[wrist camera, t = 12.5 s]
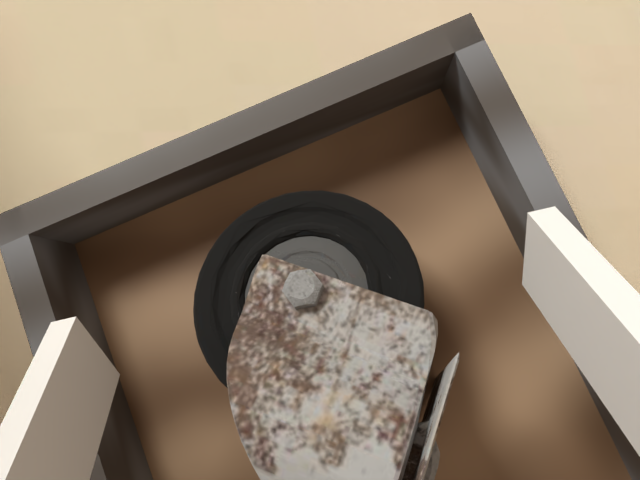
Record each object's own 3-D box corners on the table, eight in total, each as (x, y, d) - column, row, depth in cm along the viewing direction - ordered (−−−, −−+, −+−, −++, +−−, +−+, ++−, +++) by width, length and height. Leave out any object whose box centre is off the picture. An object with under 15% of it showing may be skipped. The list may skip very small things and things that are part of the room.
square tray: (58, 234, 22) (-10, 218, 18) (448, 67, 22) (470, 12, 18) (205, 677, 19) (163, 781, 15) (658, 490, 19) (744, 543, 15)
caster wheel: (276, 213, 23) (481, 280, 20) (166, 446, 19) (397, 562, 17) (234, 133, 17) (522, 214, 14) (64, 453, 13) (403, 637, 11)
